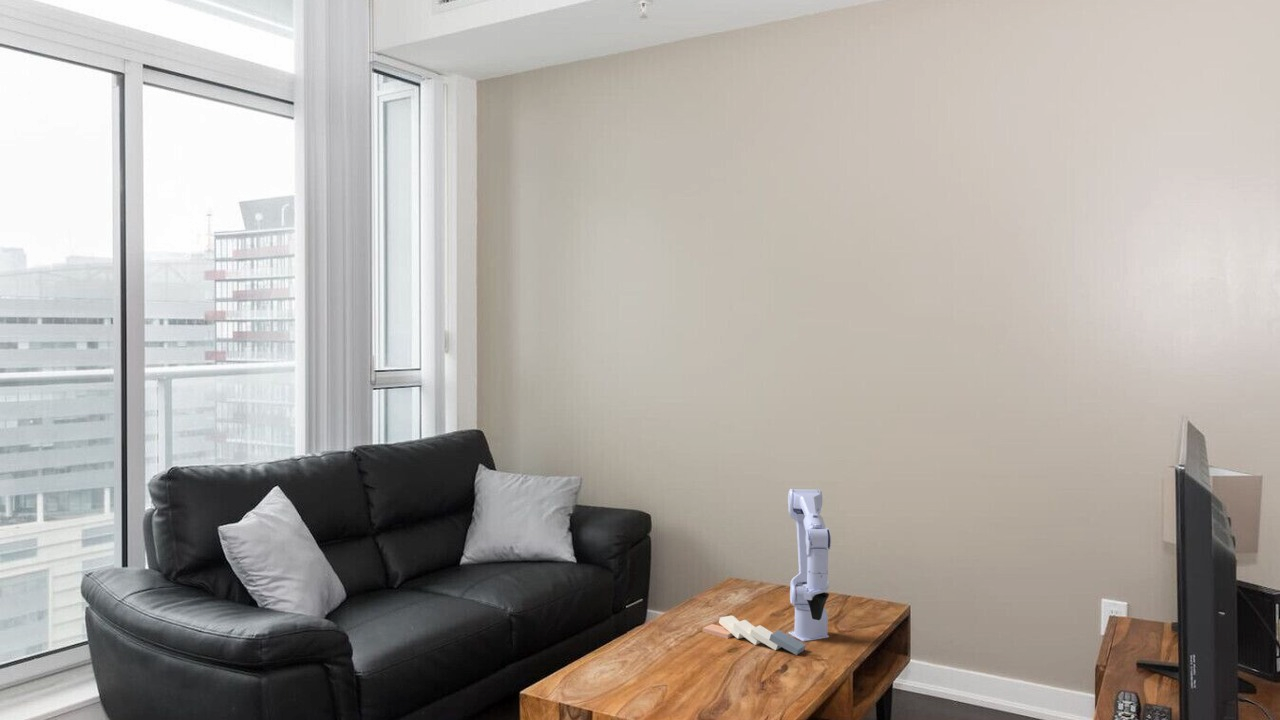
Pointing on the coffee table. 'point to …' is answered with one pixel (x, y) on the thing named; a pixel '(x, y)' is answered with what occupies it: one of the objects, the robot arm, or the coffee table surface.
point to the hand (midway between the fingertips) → (816, 619)
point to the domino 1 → (717, 631)
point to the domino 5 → (787, 642)
